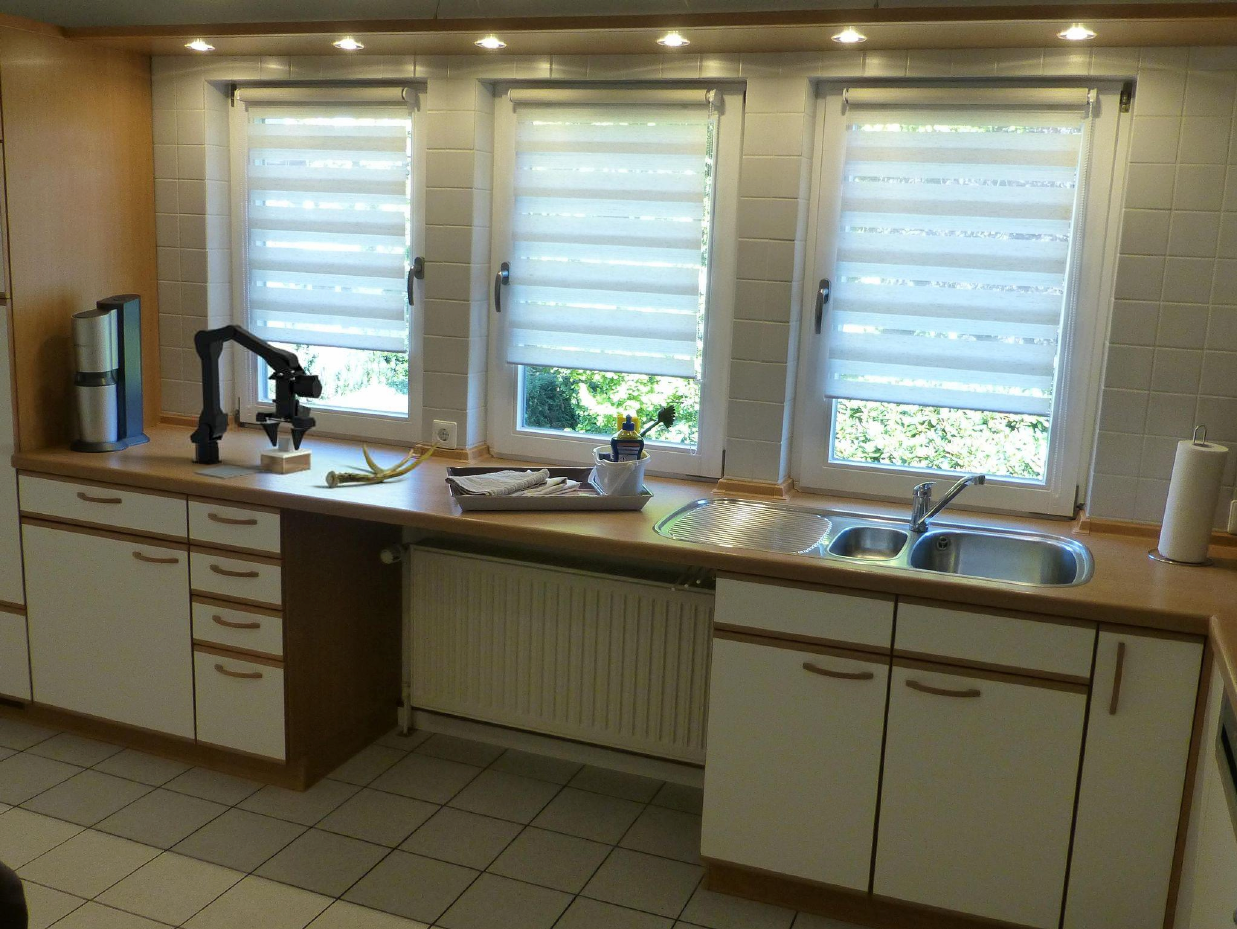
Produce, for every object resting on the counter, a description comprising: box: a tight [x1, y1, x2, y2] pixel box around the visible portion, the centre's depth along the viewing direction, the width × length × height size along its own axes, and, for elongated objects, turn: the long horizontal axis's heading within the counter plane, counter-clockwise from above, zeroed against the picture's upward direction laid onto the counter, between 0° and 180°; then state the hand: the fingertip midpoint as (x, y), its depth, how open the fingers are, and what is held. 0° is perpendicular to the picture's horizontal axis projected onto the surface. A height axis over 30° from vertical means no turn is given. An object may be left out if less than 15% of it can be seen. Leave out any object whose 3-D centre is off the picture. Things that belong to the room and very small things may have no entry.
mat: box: [194, 464, 260, 479], centre depth 314 cm, size 12×13×1 cm
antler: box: [325, 440, 441, 488], centre depth 314 cm, size 27×32×10 cm
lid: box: [258, 435, 313, 458], centre depth 321 cm, size 10×12×5 cm
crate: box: [260, 453, 312, 476], centre depth 322 cm, size 9×11×5 cm
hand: (285, 448), depth 321 cm, fingers open, 8 cm apart
